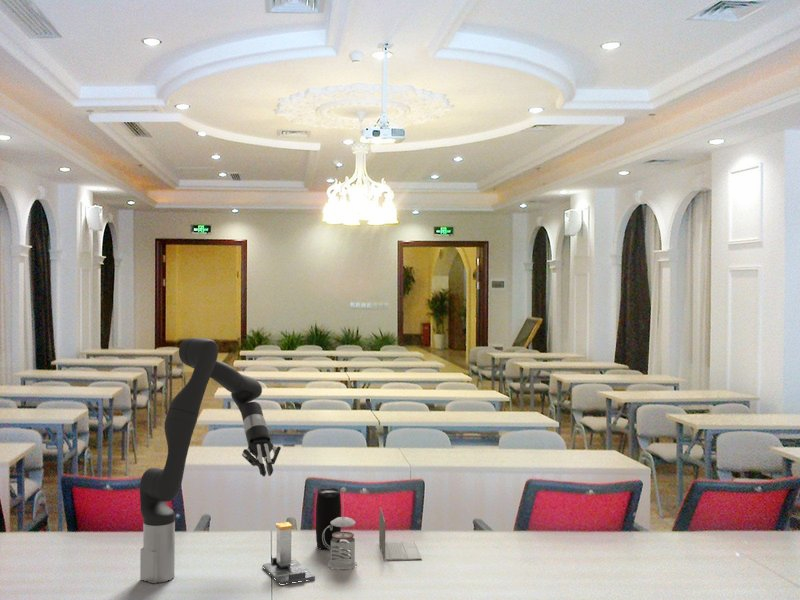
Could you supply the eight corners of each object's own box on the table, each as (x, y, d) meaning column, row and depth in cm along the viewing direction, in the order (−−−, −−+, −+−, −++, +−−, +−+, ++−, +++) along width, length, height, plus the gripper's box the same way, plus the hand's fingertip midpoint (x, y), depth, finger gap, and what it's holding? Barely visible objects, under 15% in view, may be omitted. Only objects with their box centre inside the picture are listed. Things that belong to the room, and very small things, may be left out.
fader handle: (292, 566, 261) (292, 525, 261) (279, 568, 259) (280, 527, 259) (287, 561, 265) (287, 521, 265) (275, 563, 263) (275, 523, 263)
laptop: (421, 560, 273) (422, 521, 273) (383, 561, 272) (384, 522, 271) (414, 543, 291) (415, 506, 291) (378, 544, 290) (379, 506, 289)
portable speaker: (338, 541, 291) (339, 486, 290) (341, 550, 282) (342, 493, 281) (314, 542, 289) (315, 486, 289) (316, 551, 280) (317, 493, 279)
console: (314, 580, 254) (314, 571, 253) (280, 585, 248) (280, 576, 248) (295, 562, 269) (295, 554, 269) (262, 567, 264) (262, 559, 264)
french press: (353, 571, 262) (354, 492, 261) (317, 568, 264) (318, 489, 263) (361, 561, 271) (362, 484, 271) (326, 558, 274) (327, 482, 273)
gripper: (238, 425, 276) (249, 470, 265) (278, 422, 282) (290, 466, 271) (234, 438, 280) (244, 483, 270) (273, 435, 287) (284, 479, 276)
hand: (267, 474), depth 271 cm, fingers closed
